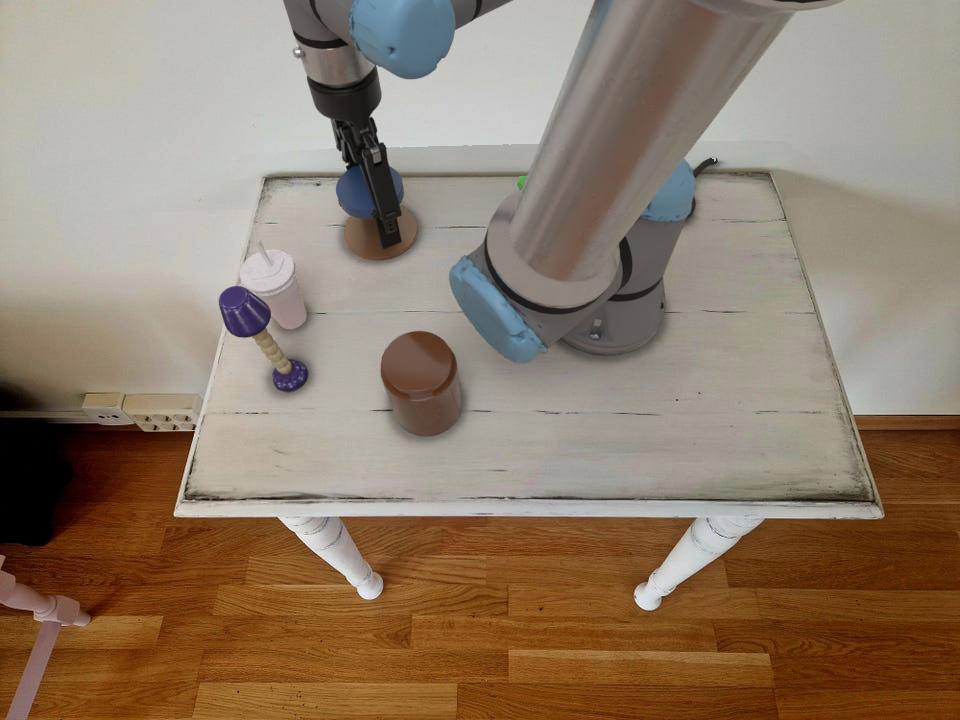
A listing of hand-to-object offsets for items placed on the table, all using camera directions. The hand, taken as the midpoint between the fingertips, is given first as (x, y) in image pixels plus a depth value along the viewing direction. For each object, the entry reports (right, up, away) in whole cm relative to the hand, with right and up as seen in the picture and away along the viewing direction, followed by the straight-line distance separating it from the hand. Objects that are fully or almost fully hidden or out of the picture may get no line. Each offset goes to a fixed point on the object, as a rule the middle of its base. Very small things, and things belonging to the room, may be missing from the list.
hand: (378, 221), depth 80 cm
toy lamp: (-9, -22, -10) cm, 26 cm away
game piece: (+21, +3, +4) cm, 21 cm away
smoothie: (-10, -14, -5) cm, 18 cm away
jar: (+8, -25, -13) cm, 29 cm away
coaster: (0, -1, +2) cm, 2 cm away
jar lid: (0, +3, -5) cm, 6 cm away
